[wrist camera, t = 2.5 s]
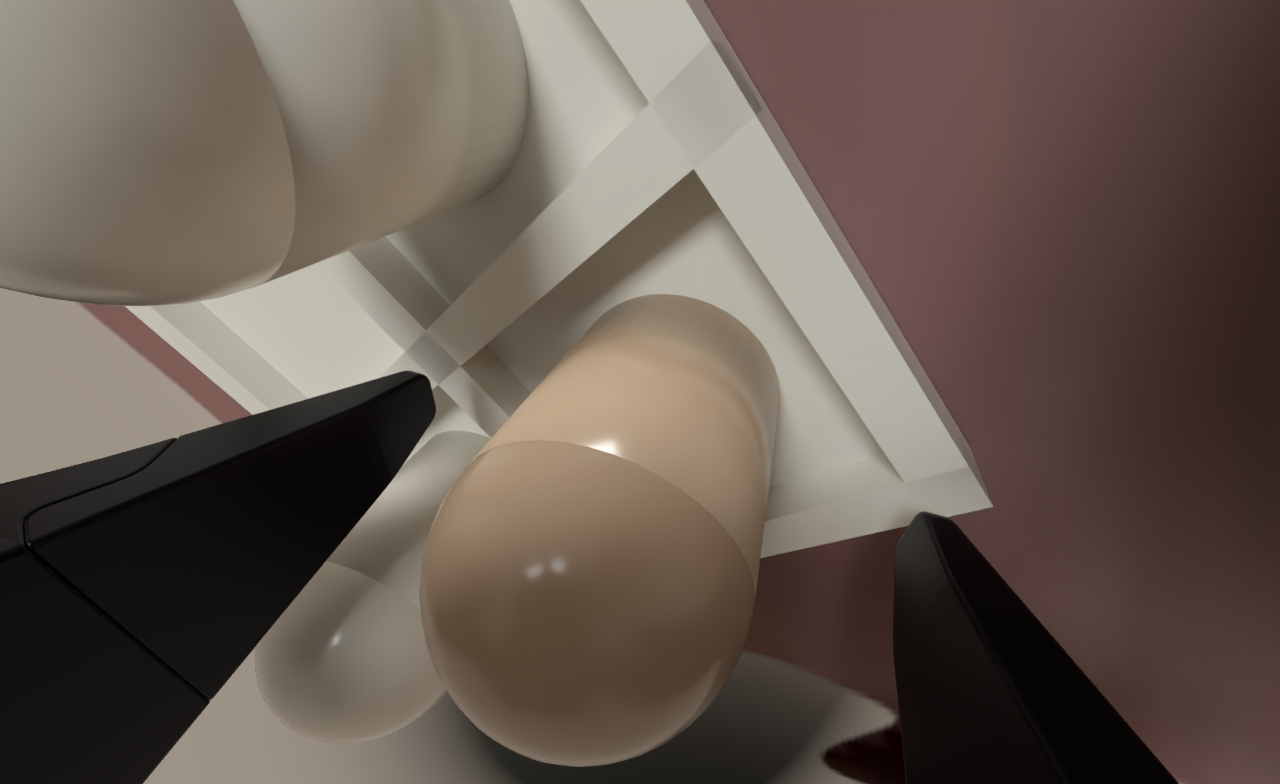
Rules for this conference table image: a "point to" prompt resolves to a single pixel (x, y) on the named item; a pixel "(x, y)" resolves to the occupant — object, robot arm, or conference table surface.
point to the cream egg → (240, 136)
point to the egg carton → (620, 276)
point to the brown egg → (609, 538)
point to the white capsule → (366, 615)
